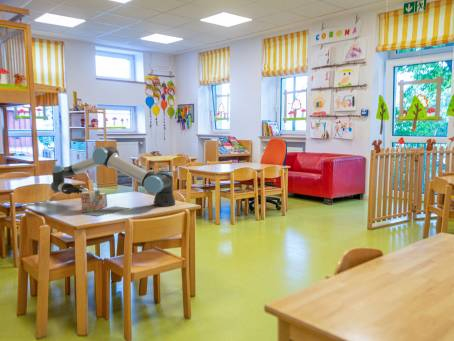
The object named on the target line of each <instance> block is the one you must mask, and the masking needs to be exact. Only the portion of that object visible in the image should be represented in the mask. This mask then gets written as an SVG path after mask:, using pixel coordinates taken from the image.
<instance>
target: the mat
mask: <svg viewBox="0 0 454 341" xmlns="http://www.w3.org/2000/svg"><path fill="white" fill-rule="evenodd" d="M127 210H130V207H124V206H118V205H117V206H116V205H115V206H110V207H104V208H101V209H98V210H96V211H93V212H82V215H88V216H93V217H100V215H101V216H104V214H105V215H108V213H109V214H112V213H117V212H121V211H127Z"/></svg>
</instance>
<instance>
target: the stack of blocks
mask: <svg viewBox="0 0 454 341" xmlns="http://www.w3.org/2000/svg"><path fill="white" fill-rule="evenodd" d="M107 197H108V196H107V193H106V192H100V190H99V189H98V190H92V189H91V190H87V192H84V193H80V199H81V200H80V202H81V212H82V213H86V212H93V211H96V210H100V209H105V208H108V198H107Z"/></svg>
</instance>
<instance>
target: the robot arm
mask: <svg viewBox="0 0 454 341" xmlns="http://www.w3.org/2000/svg"><path fill="white" fill-rule="evenodd" d="M100 166H104V167H106V168H108V169H111V168H113V169H115V170H116V171H117V172H120V173H122V174H123V175H125V176H128V177H129V178H131V179H132V180H135V181H137V182H138V183H140V185H141V187H143V188H144V190H145V191H146V192H147V193H149V194H155V195H154V200H153V206H154V207H155V206H156V207H170V206H171V207H172V206H175V205H176V200H175V197H174V189H173V188H174V184H173V183H174V182H173V181H174V180H173V179H174V175H173V172H170V171H168V172H167V171H156V172H153V171H152V170H148V171H146V170H145V169H143V168H141V167H139V166H138V165H135V163H134V164H133V163H131V162H130V161H128V160H126V159H124V158H122V157H121V156H120V152H119V150H118V149H117V148H115V147H114V146H100V147H96V148H95V149H94V150H93V152H92V156H91V157H90V158H87V159H86V158H85V159H84V160H82V161H78V162H76V163H74V164H71V165H68V166H64V165H63V164H56V165H53V166H52V182H51V183H50V184H49V185H50V190H51V191H52V192H55V193H60V194H63V195H71V194H77V195H79V194H81V193H84V192H87V191H88V190H87V189H85V188H84V187H81V186H74V185H73V184H72V183H68V182H65V178H69V177H71V178H72V177H75V176H77V175H78V174H81V173H84V172H86V171H89V170H92V169H94V168H96V167H100Z"/></svg>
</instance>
